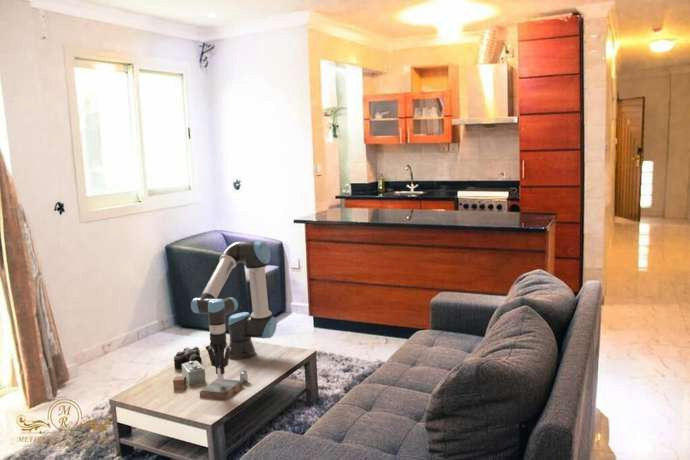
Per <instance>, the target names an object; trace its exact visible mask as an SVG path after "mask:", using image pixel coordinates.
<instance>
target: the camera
mask: <svg viewBox="0 0 690 460" xmlns="http://www.w3.org/2000/svg"><path fill="white" fill-rule="evenodd" d="M173 357H174V358H173V364H174V369H175V370H182V364H184V363H186V362H189V361H198V362H199V363H200V364H201V365H202V357H201V350H200V348H199V347H198V346H193V348H190V347H188V346H187V347H184V348H183V350H182V351H177V353H176V354H175V355H173Z"/></svg>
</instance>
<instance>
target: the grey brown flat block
mask: <svg viewBox="0 0 690 460" xmlns="http://www.w3.org/2000/svg"><path fill="white" fill-rule="evenodd" d="M242 387H244V385H243V381H240V380H237V379H226V378H224V380H222V381H221V382H219V381H218V378H216V379H214V380H213V381H212V382H211V383H209V384H208V385H207V386H205V387H204V388H203V389H201V390H200V391H199V398H205V399H206V398H207V399H214V400H215V399H216V400H224V401H225V400H226V401H227V400H228V399H230V398H231V396H233V395H234V394H236V392H238V391H239V390H240V389H242Z"/></svg>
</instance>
